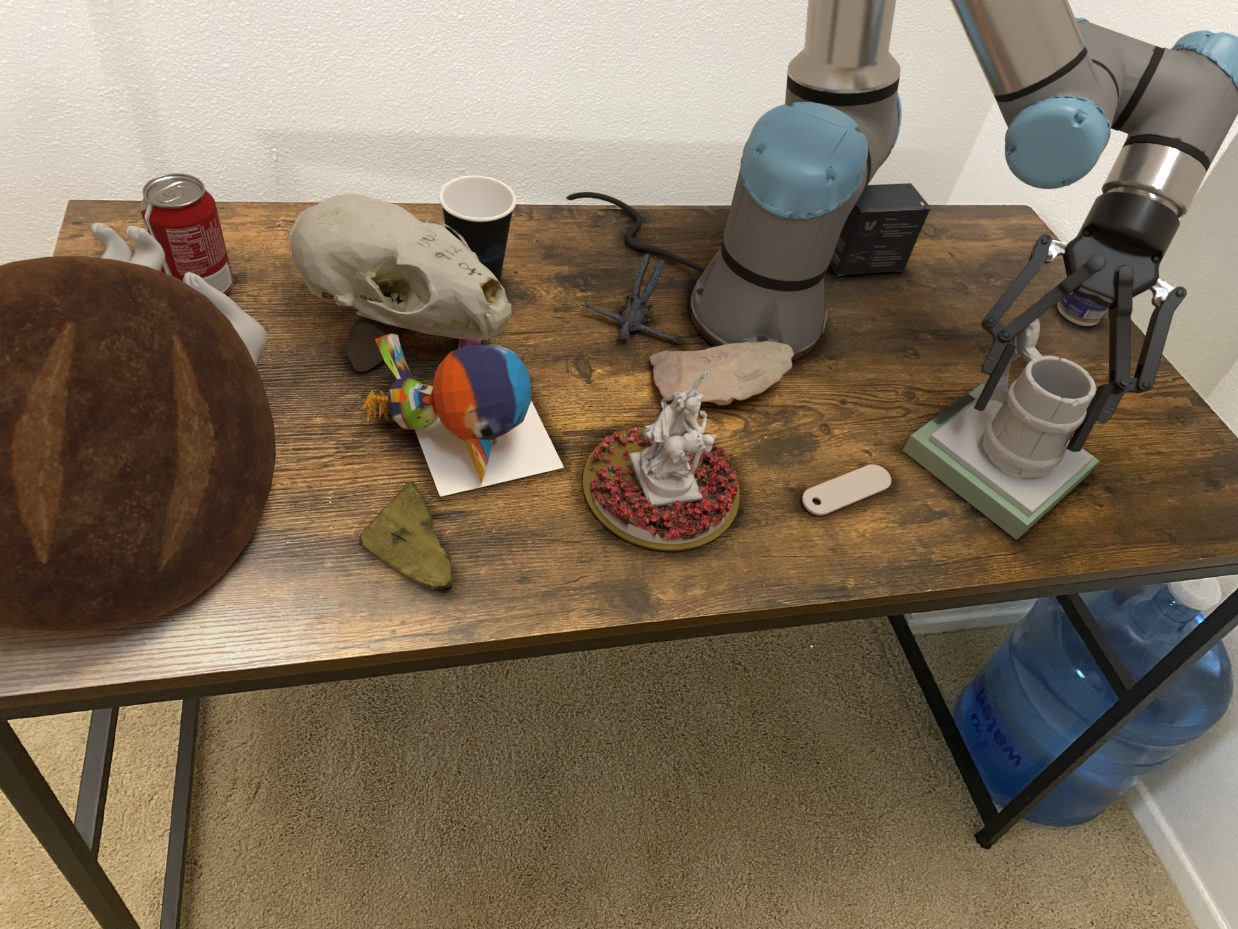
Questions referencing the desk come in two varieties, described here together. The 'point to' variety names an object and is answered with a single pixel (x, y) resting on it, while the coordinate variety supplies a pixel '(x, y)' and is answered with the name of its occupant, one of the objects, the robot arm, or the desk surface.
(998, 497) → the scale
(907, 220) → the box
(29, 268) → the bread
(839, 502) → the keychain
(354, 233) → the skull
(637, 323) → the figurine
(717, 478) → the figurine
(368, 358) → the figurine
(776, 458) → the desk surface
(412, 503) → the stone
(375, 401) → the toy
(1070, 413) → the mug
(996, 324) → the robot arm
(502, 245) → the dixie cup
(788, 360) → the stone tool
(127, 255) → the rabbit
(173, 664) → the desk surface
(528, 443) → the thin white square sheet
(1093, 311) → the pill bottle
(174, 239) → the soda can
